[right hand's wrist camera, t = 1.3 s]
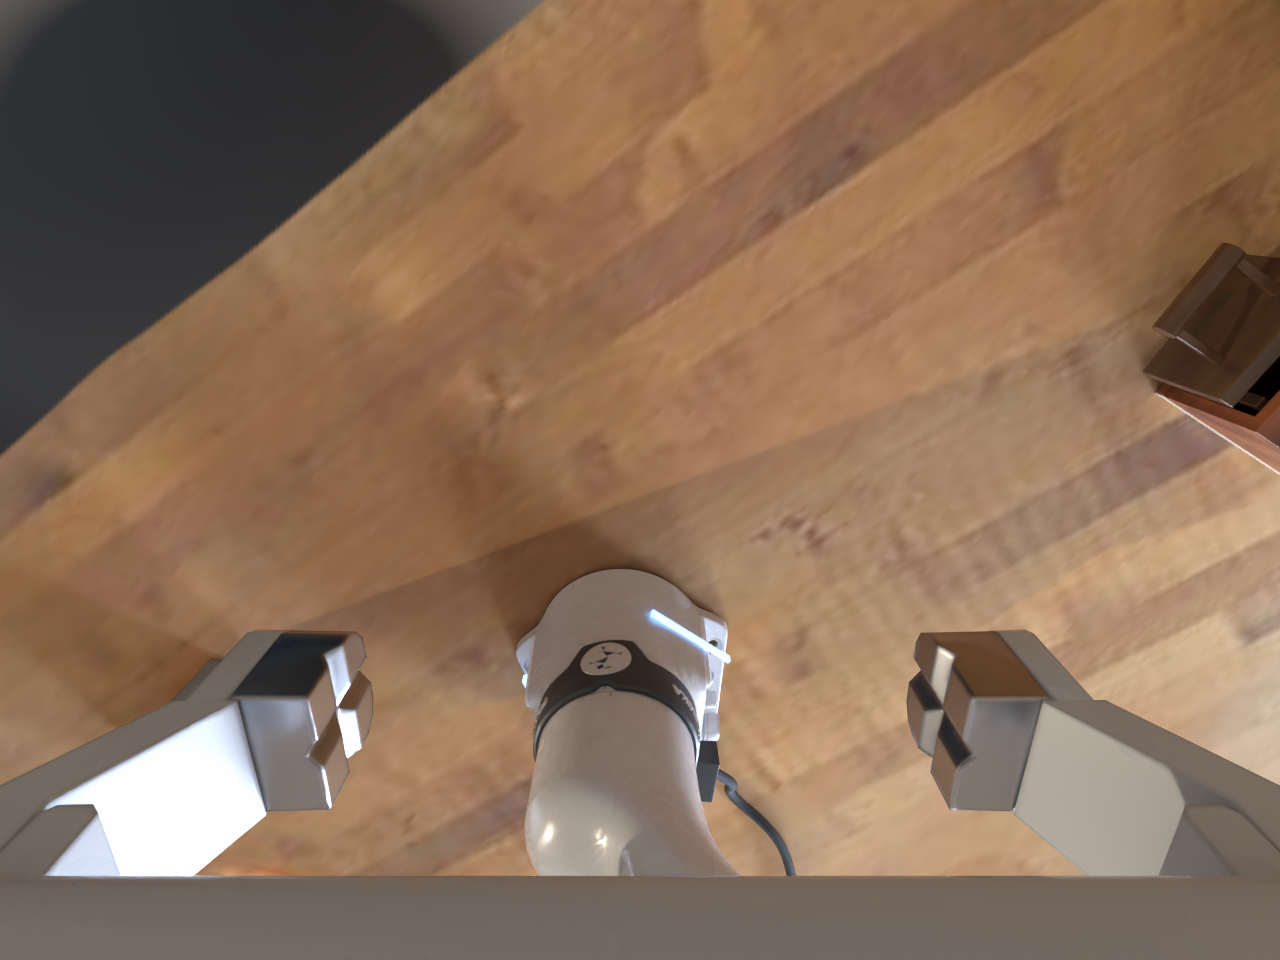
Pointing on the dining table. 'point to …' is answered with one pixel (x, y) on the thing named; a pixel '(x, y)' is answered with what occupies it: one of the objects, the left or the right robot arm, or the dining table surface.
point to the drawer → (1224, 332)
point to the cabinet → (1234, 423)
